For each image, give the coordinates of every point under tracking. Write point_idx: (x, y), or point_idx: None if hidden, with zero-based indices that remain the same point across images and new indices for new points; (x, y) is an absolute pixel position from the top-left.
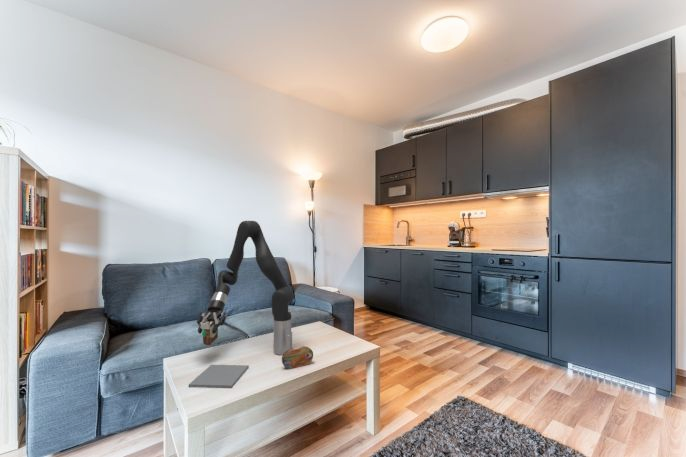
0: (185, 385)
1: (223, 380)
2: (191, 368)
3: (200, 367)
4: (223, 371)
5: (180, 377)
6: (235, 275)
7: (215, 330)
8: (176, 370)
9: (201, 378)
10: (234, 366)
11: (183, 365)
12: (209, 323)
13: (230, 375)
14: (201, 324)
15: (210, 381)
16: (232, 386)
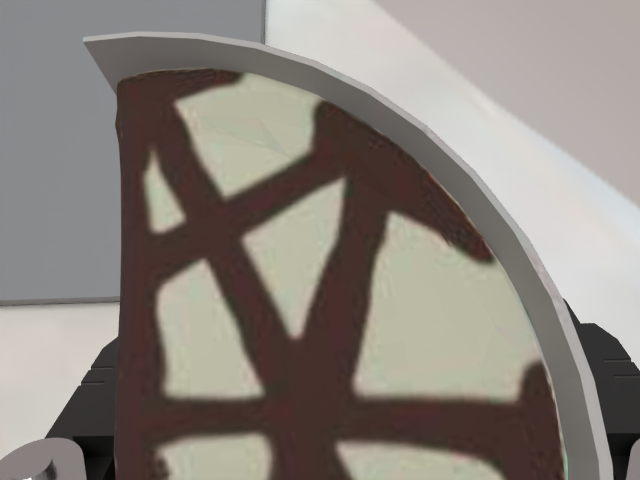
0: (301, 3)
1: (32, 49)
2: None
3: None
4: (80, 174)
5: (420, 93)
6: None
7: (110, 344)
8: (555, 198)
9: None
10: (9, 271)
11: (568, 303)
12: (244, 333)
13: (1, 120)
14: (474, 194)
15: (122, 27)
16: None
